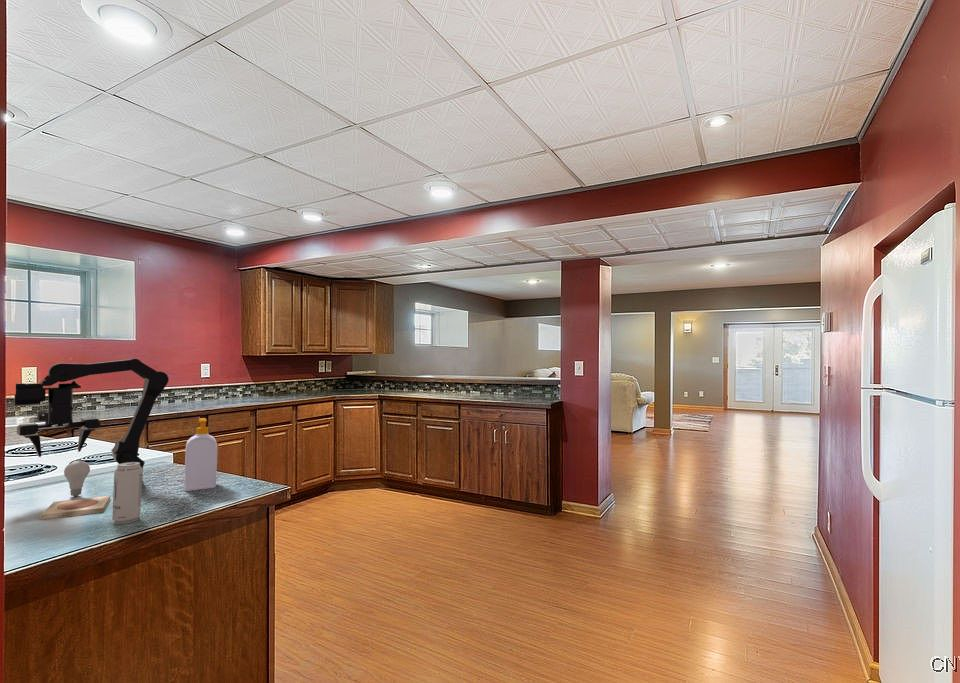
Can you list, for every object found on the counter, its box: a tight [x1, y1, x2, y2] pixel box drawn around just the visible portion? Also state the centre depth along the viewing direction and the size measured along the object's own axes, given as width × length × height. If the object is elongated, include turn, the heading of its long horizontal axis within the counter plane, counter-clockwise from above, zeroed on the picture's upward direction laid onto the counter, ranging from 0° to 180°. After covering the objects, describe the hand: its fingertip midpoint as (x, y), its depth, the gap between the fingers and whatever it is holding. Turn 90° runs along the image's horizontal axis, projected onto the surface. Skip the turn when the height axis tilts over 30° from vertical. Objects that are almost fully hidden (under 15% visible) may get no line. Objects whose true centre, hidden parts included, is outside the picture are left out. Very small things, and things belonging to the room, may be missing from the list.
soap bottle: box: [183, 417, 219, 492], centre depth 158 cm, size 9×7×23 cm
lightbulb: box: [63, 460, 91, 498], centre depth 146 cm, size 6×6×11 cm
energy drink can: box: [111, 462, 143, 525], centre depth 126 cm, size 6×6×15 cm
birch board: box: [40, 495, 111, 520], centre depth 134 cm, size 13×13×1 cm
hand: (59, 454), depth 145 cm, fingers open, 9 cm apart
